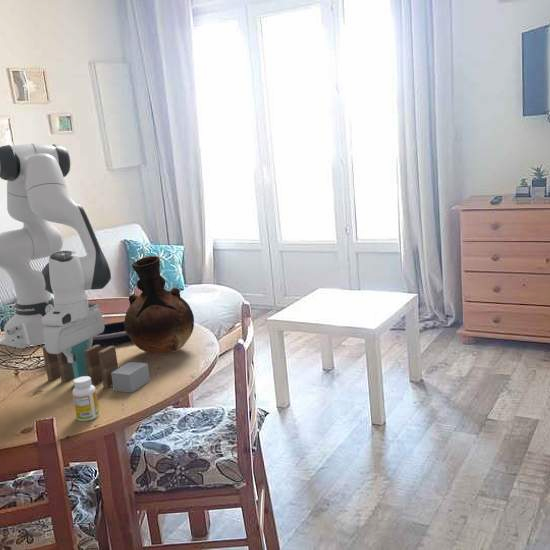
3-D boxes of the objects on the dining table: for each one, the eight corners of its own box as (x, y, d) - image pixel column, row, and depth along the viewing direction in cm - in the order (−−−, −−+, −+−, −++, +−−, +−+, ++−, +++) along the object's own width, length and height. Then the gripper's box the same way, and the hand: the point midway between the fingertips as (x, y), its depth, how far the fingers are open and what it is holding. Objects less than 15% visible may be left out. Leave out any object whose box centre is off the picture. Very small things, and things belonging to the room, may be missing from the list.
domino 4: (89, 385, 174) (83, 350, 172) (101, 378, 179) (95, 344, 176) (93, 385, 173) (88, 351, 171) (105, 378, 178) (100, 345, 176)
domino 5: (103, 386, 172) (98, 352, 170) (115, 379, 176) (110, 345, 174) (108, 387, 171) (103, 352, 169) (120, 380, 176) (114, 346, 174)
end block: (113, 390, 169) (111, 372, 168) (132, 379, 176) (129, 362, 175) (131, 392, 166) (129, 374, 165) (149, 380, 173) (147, 363, 172)
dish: (157, 341, 208) (155, 326, 207) (60, 354, 203) (58, 339, 202) (156, 327, 223) (155, 314, 222) (66, 340, 218) (64, 326, 217)
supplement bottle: (91, 410, 158) (85, 373, 155) (104, 414, 154) (98, 377, 152) (72, 418, 154) (65, 381, 151) (85, 423, 150) (78, 385, 148)
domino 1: (48, 380, 180) (42, 347, 178) (60, 373, 185) (55, 341, 183) (52, 380, 180) (46, 347, 178) (64, 374, 184) (59, 341, 182)
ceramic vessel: (201, 340, 204) (190, 249, 197) (192, 359, 187) (180, 260, 180) (137, 345, 205) (124, 254, 198) (122, 364, 188) (108, 266, 181)
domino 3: (91, 373, 180) (86, 340, 178) (79, 380, 175) (73, 346, 173) (86, 373, 180) (81, 340, 178) (74, 380, 176) (69, 346, 174)
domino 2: (61, 381, 178) (55, 348, 176) (73, 375, 183) (68, 342, 181) (65, 382, 178) (60, 348, 175) (78, 375, 182) (72, 342, 180)
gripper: (88, 299, 184) (95, 344, 187) (36, 321, 166) (44, 370, 169) (105, 300, 181) (112, 346, 184) (54, 322, 163) (63, 372, 167)
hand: (79, 358), depth 177 cm, fingers closed on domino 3, 5 cm apart
